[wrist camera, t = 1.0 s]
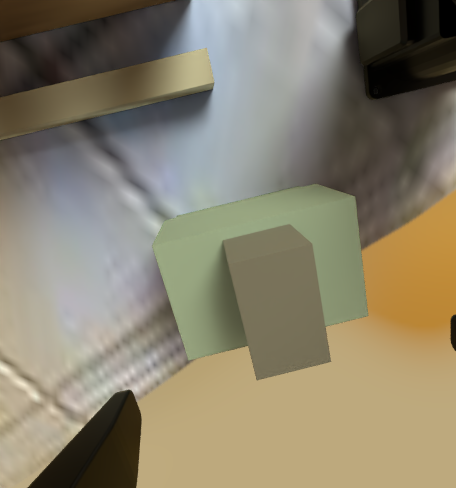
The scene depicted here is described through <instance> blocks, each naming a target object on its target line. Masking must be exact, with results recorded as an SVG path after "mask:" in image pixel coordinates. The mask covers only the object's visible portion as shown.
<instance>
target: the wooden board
mask: <svg viewBox="0 0 456 488" xmlns="http://www.w3.org/2000/svg"><path fill="white" fill-rule="evenodd" d="M170 1H175V0H0V42H2V41H7V40H11V39H15V38H19V37H23V36H28V35H32V34H36V33H40V32H44V31H49V30H53V29H57V28H61V27H65V26H70V25H74V24H78V23H82V22H86V21H91V20H95V19H99V18H103V17H107V16H112V15H116V14H120V13H124V12H128V11H133V10H137V9H141V8H145V7H149V6H154V5H158V4H162V3H166V2H170ZM213 87H214V79H213V74H212V69H211V65H210V60H209V56H208V51H207V48H204V49H200V50H196V51H192V52H187V53H183V54H179V55H175V56H171V57H167V58H162V59H158V60H154V61H150V62H146V63H141V64H137V65H133V66H129V67H125V68H121V69H116V70H112V71H108V72H104V73H100V74H96V75H91V76H87V77H83V78H79V79H75V80H70V81H66V82H62V83H58V84H54V85H50V86H45V87H41V88H37V89H33V90H29V91H25V92H20V93H16V94H12V95H8V96H4V97H0V140H3V139H8V138H12V137H16V136H20V135H24V134H28V133H32V132H37V131H41V130H45V129H49V128H53V127H57V126H62V125H66V124H70V123H74V122H78V121H82V120H86V119H91V118H95V117H99V116H103V115H107V114H111V113H116V112H120V111H124V110H128V109H132V108H136V107H141V106H145V105H149V104H153V103H157V102H161V101H165V100H170V99H174V98H178V97H182V96H186V95H190V94H195V93H199V92H203V91H207V90H211V89H213Z"/></svg>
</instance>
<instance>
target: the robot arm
mask: <svg viewBox="0 0 456 488" xmlns="http://www.w3.org/2000/svg"><path fill="white" fill-rule="evenodd" d="M356 23H357V34H358V45H359V55H360V63H361V64H362V65H363V67H364V78H365V89H366V95H367V97H368V98H369V99H371V100H376V99H380V98H385V97H389V96H393V95H397V94H401V93H405V92H409V91H413V90H418V89H422V88H426V87H430V86H434V85H438V84H442V83H447V82H451V81H455V80H456V0H358V12H357V14H356ZM375 86H376V87H377V88H378V93H377V94H375V93H374V91H373V89H374V87H375ZM451 344H452V346H453V348H454V350H455V351H456V315H453V316H452V318H451ZM140 436H141V413H140V410H139V407H138V405H137V402H136V399H135V397H134V394H133V392H132V391H131V390H125V391H120V392H117V393H115V394H114V395H113V396H112V397H111V398H110V399H109V400H108V401H107V403H106V404H105V405H104V406H103V407H102V408H101V409H100V410H99V411H98V412H97V413H96V414H95V415H94V417H93V418H92V419H91V420H90V421H89V422H88V423H87V424H86V425H85V426H84V427H83V428H82V429H81V431H80V432H79V433H78V434H77V435H76V436H75V437H74V438H73V439H72V440H71V441H70V442H69V443H68V445H67V446H66V447H65V448H64V449H63V450H62V451H61V452H60V453H59V454H58V455H57V456H56V457H55V459H54V460H53V461H52V462H51V463H50V464H49V465H48V466H47V467H46V468H45V469H44V470H43V472H42V473H41V474H40V475H39V476H38V477H37V478H36V479H35V480H34V481H33V482H32V483H31V484H30V486H29V487H28V488H136V485H137V476H138V463H139V450H140V449H139V448H140Z"/></svg>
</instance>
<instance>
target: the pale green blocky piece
mask: <svg viewBox="0 0 456 488" xmlns="http://www.w3.org/2000/svg"><path fill="white" fill-rule="evenodd" d="M152 247H153V250H154V253H155V257H156V260H157V263H158V266H159V269H160V272H161V275H162V278H163V282H164V285H165V288H166V291H167V294H168V297H169V300H170V304H171V307H172V310H173V313H174V316H175V319H176V322H177V326H178V329H179V332H180V335H181V338H182V341H183V344H184V348H185V351H186V354H187V357H188V360H193V359H197V358H201V357H205V356H209V355H213V354H217V353H221V352H225V351H229V350H233V349H237V348H241V347H245V346H249V351H250V355H251V359H252V362H253V367H254V371H255V375H256V379H257V380H259V379H264V378H267V377H272V376H276V375H280V374H284V373H288V372H292V371H296V370H300V369H304V368H307V367H312V366H316V365H320V364H324V363H328V362H331V359H330V353H329V346H328V340H327V333H326V328H325V327H326V326H330V325H334V324H338V323H342V322H346V321H350V320H354V319H358V318H362V317H366V316H368V309H367V300H366V291H365V282H364V273H363V263H362V254H361V245H360V236H359V227H358V218H357V209H356V199H355V196H352V195H349V194H346V193H343V192H340V191H337V190H334V189H331V188H328V187H325V186H321V185H318V184H313V185H308V186H304V187H300V186H297V187H293V188H289V189H285V190H281V191H277V192H273V193H269V194H265V195H260V196H256V197H252V198H248V199H244V200H240V201H236V202H232V203H228V204H224V205H219V206H215V207H211V208H207V209H203V210H199V211H195V212H191V213H187V214H182V215H178V216H177V217H176V218H173V219H169V220H165V221H164V223H163V225H162V227H161V229H160V231H159V233H158V235H157V237H156V239H155V241H154V243H153V245H152Z"/></svg>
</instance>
